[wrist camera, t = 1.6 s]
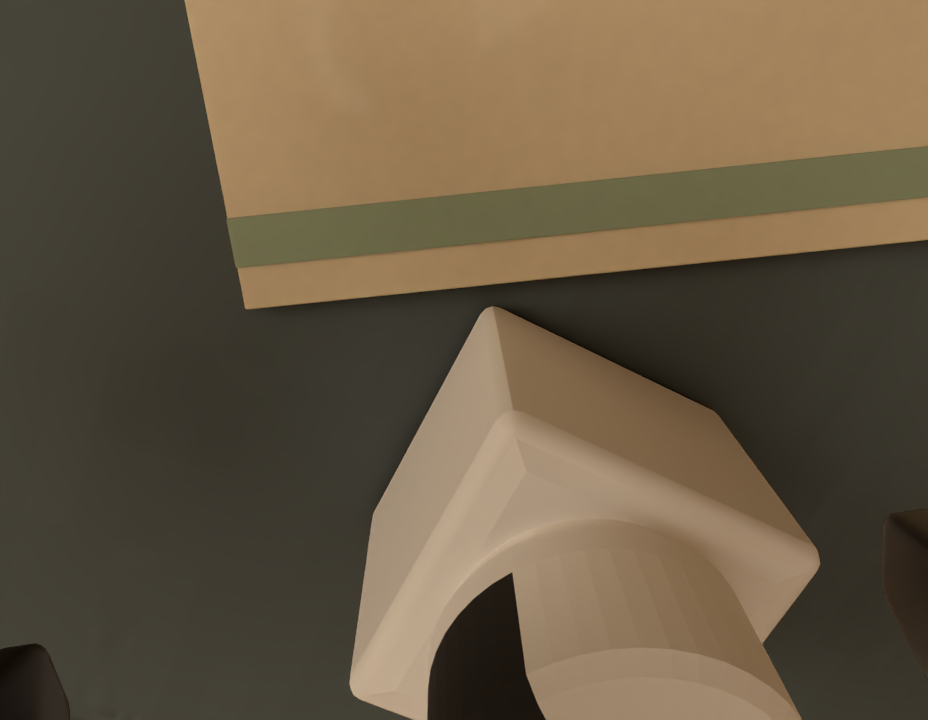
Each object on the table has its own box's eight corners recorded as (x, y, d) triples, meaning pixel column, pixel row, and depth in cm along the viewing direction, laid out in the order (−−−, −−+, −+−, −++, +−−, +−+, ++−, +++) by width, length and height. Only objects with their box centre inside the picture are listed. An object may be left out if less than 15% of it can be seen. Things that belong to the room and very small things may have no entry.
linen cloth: (1115, -306, 18) (1141, -319, 17) (1040, 222, 22) (1059, 228, 21) (151, -202, 18) (140, -211, 17) (250, 303, 22) (244, 311, 21)
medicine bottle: (589, 609, 25) (708, 1065, 14) (368, 516, 24) (306, 937, 13) (721, 411, 23) (984, 763, 12) (486, 297, 22) (534, 572, 11)
